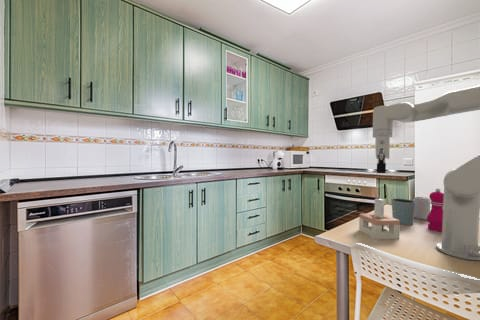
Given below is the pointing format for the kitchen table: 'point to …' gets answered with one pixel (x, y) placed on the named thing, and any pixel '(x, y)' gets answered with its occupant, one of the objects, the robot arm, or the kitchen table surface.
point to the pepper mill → (436, 211)
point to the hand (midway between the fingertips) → (381, 172)
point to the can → (421, 208)
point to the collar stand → (379, 226)
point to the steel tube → (379, 209)
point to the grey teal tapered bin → (403, 210)
